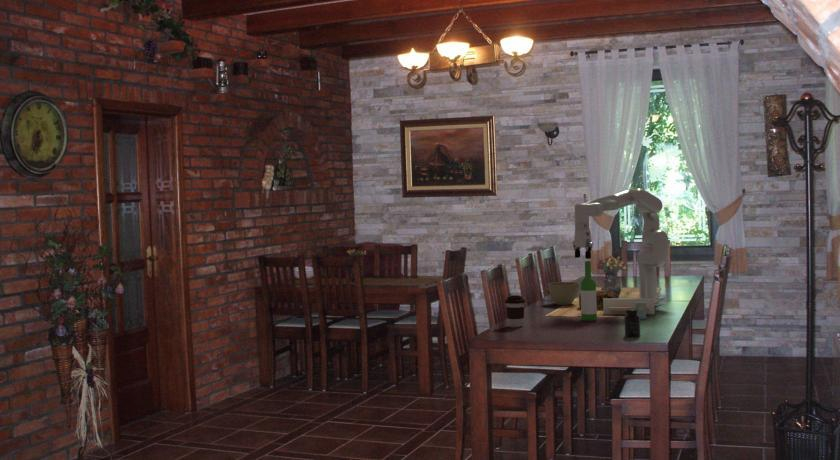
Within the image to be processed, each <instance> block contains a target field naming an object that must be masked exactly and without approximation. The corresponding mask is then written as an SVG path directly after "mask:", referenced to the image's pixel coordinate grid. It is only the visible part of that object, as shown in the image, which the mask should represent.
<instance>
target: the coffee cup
mask: <svg viewBox="0 0 840 460" xmlns="http://www.w3.org/2000/svg"><path fill="white" fill-rule="evenodd" d="M525 303H526V299H525V298H523V296H522V295H519V294H518V295H516V294H514V295H513V294H512V295H508V296H507V297H506V298H505V299H504V304H505V310H506V318H507V326H508V327H510V328H521V327H520V326H522V327H524V319H525Z"/></svg>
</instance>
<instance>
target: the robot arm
mask: <svg viewBox="0 0 840 460" xmlns="http://www.w3.org/2000/svg"><path fill="white" fill-rule="evenodd" d="M631 205H635V207H636V209H637V211H638V212H639V213H640V215H641V217H642V218H643V225H642V226H643V227H642V236H641V243H642V244H643V245H644V246H646V247H651V248H643V249H641V250H639V251H638V252H637V255H636V261H637V265H638V281H639V285H638V286H639V288H638V290H639V299H654V307H658V306H661V302H665V301H666V298H665V297H660V296H658V282H657V280H658V279H657V277H658V276H657V275H658V273H657V269H656V267H659V268H660V267H662V266H663V265H665V263H666V260H667V256H668V255H667V254H668V247H669V237H668V234H667V232H666V231H664V230H663V229H660V218H659V214H658V213H661V211H662V209H663V207H664V205H663V202H662V200H661V199H660V198H659V197H658V196H656V195H654V194H653V193H651V192H649V191H648V190H645V189H643V188H639V187H638V188H627V189H625V190H622V191H619V192H616V193H614V194H610V195H606V196H603V197H598V198H595V199H592V200H589V201H586V202H584V203H576V204H574V236H573V237H574V240H573V241H572V243H571V244H572V246H573V251H574V258H576V259H579V258H581V248H584V250H585V251H584V252H585V253H584V257H585V259H587V260H589V259H590V260H591V259H592V249H593V245H594V244H593V242H592V234H591V229H590V217H593V218H594V217H600V216H602V215H603V214H604V212H606V211H607V212H609V211H616V210H619V209H622V208H625V207H629V206H631Z"/></svg>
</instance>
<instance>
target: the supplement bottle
mask: <svg viewBox="0 0 840 460" xmlns="http://www.w3.org/2000/svg"><path fill="white" fill-rule="evenodd" d="M637 314H638V312H637V309H627V310H626V314H625V315H624V318H623V321H624V336H625V337H627V336H628V337H627V338H637V337H636V336H639V337H641V319H640V317H639V316H638V315H637Z"/></svg>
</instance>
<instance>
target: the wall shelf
mask: <svg viewBox="0 0 840 460" xmlns="http://www.w3.org/2000/svg"><path fill="white" fill-rule="evenodd" d="M636 301H646V315H656V314H655V313H656V311H655V306H654V299H640V298H614V299H603V309H602V310H603V315H627V314H626V310H627V309H636Z"/></svg>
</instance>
